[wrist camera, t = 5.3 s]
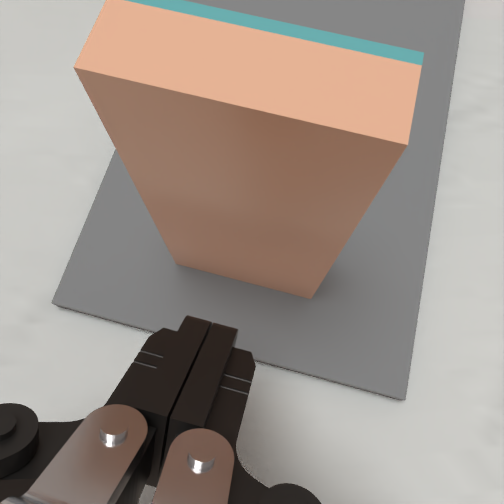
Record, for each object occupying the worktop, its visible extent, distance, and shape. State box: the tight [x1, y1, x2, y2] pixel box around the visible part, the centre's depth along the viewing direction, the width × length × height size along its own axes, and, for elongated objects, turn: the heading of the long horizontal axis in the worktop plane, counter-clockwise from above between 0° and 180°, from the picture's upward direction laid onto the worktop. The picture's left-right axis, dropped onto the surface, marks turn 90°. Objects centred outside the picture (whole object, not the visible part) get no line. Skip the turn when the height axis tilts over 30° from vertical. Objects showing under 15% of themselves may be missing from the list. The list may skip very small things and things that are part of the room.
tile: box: [74, 0, 424, 299], centre depth 14 cm, size 6×2×12 cm, turn 75°
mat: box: [52, 0, 465, 400], centre depth 22 cm, size 15×24×1 cm, turn 165°
